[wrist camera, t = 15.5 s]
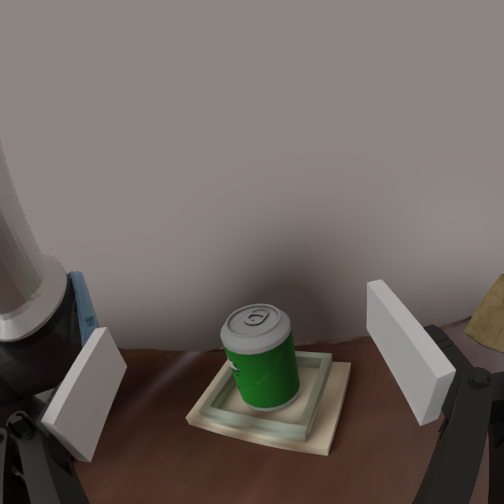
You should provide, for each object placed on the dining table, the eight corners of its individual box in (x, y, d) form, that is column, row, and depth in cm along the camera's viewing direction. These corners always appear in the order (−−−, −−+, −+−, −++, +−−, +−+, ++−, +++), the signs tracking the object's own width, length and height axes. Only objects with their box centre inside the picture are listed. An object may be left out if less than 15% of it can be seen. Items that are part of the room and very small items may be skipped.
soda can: (309, 378, 36) (299, 302, 32) (287, 422, 30) (269, 346, 26) (259, 369, 40) (239, 297, 35) (231, 407, 34) (203, 334, 29)
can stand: (189, 424, 33) (180, 408, 32) (235, 358, 45) (229, 341, 44) (327, 455, 26) (327, 440, 24) (350, 370, 37) (350, 351, 36)
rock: (543, 341, 24) (516, 299, 33) (537, 312, 22) (505, 268, 31) (488, 384, 29) (469, 338, 38) (474, 363, 27) (451, 313, 36)
